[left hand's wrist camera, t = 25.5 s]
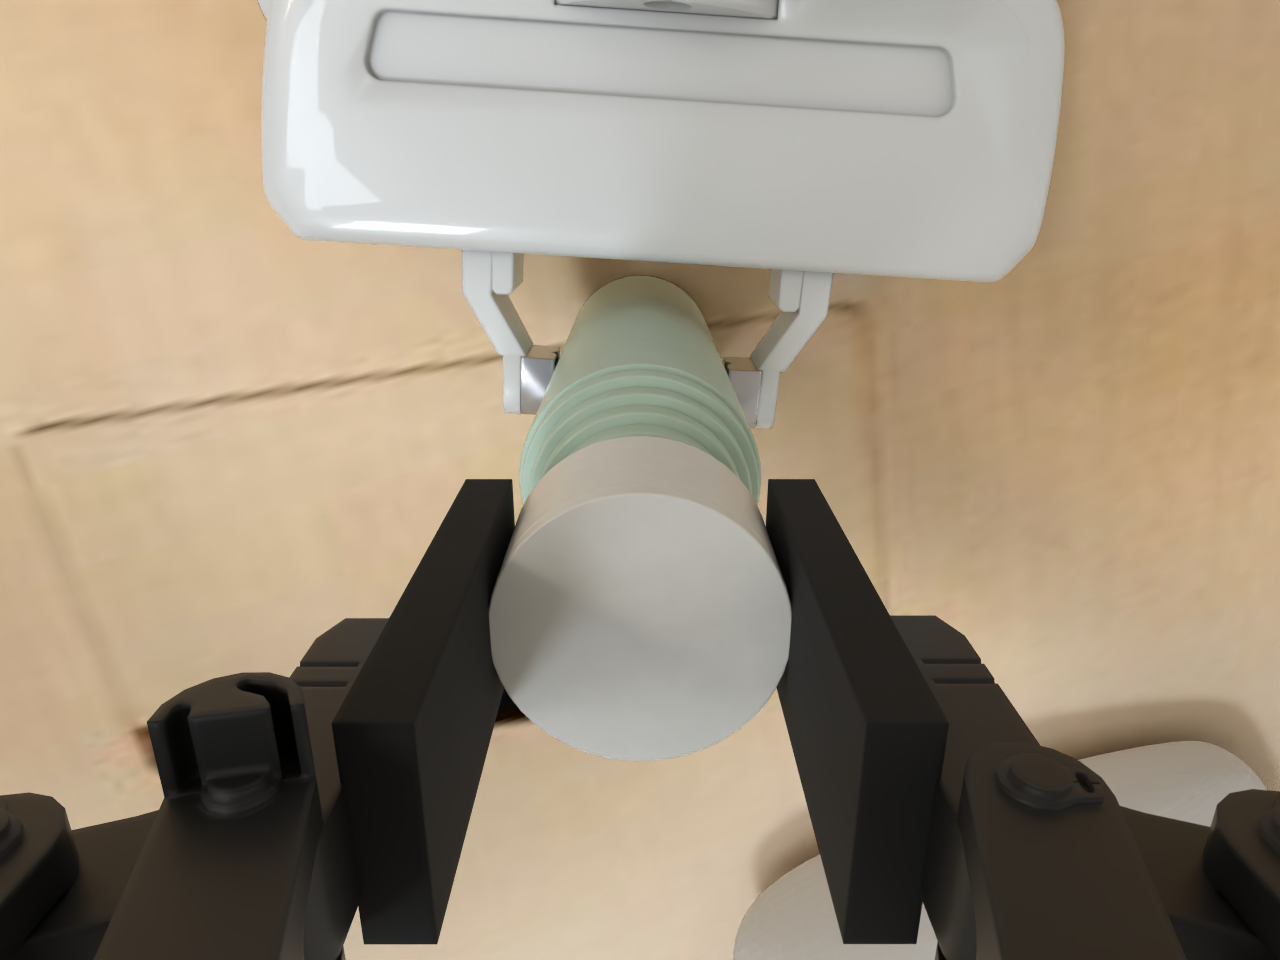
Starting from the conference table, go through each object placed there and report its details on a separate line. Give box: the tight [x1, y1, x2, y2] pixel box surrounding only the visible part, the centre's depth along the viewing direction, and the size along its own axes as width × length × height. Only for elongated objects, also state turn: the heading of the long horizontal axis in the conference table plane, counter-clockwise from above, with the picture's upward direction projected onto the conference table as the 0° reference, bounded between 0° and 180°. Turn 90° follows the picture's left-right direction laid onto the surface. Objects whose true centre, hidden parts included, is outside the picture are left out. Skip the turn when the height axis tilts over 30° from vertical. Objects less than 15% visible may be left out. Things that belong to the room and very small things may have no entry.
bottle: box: [519, 275, 761, 505], centre depth 22 cm, size 5×5×20 cm
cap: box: [489, 436, 792, 761], centre depth 13 cm, size 4×4×3 cm
